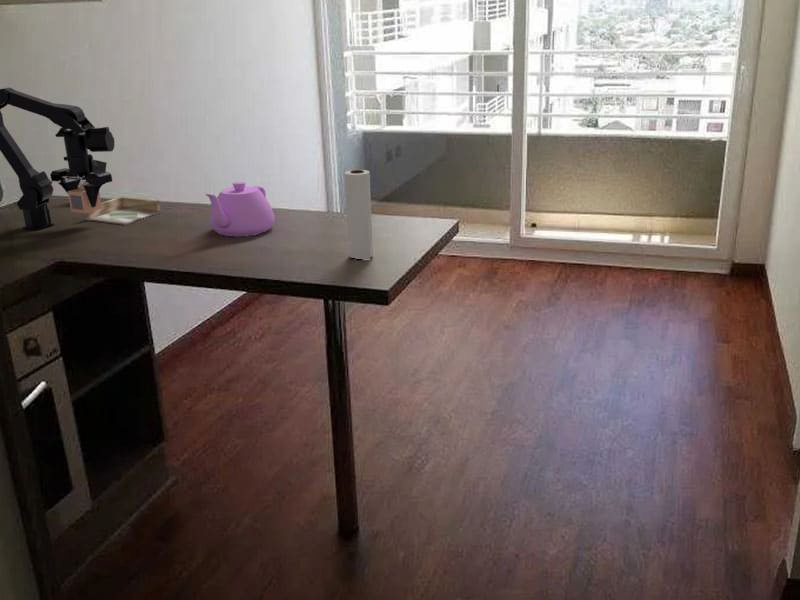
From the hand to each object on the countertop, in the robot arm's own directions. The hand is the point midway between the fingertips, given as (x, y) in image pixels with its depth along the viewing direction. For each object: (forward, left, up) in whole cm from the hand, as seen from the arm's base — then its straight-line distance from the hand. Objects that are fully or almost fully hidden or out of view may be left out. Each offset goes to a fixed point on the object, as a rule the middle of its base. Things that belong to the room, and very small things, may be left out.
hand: (85, 205), depth 231 cm
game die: (+24, +26, -6) cm, 36 cm away
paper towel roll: (+2, -90, -6) cm, 90 cm away
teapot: (+12, -46, -6) cm, 48 cm away
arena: (+12, -2, -6) cm, 14 cm away
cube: (0, 0, -1) cm, 1 cm away
